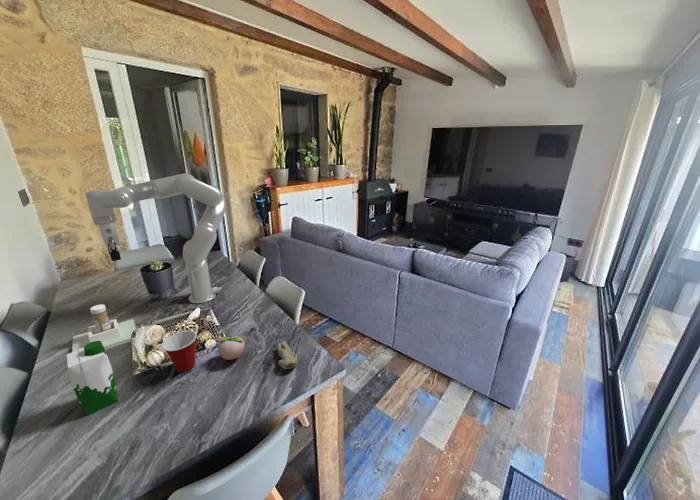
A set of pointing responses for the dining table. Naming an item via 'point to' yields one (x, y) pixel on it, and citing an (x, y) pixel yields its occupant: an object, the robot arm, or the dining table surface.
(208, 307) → the dining table surface
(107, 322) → the sprinkles bottle
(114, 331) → the chute mount
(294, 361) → the sculpture
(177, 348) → the plastic cup
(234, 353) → the decorative fruit
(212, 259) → the dining table surface
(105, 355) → the milk carton
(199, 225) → the robot arm
